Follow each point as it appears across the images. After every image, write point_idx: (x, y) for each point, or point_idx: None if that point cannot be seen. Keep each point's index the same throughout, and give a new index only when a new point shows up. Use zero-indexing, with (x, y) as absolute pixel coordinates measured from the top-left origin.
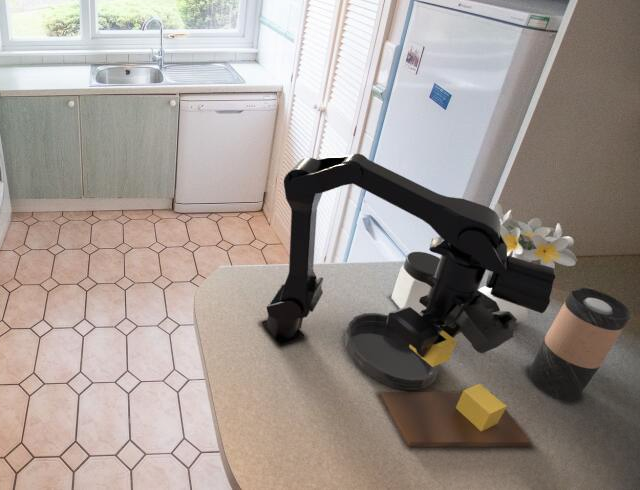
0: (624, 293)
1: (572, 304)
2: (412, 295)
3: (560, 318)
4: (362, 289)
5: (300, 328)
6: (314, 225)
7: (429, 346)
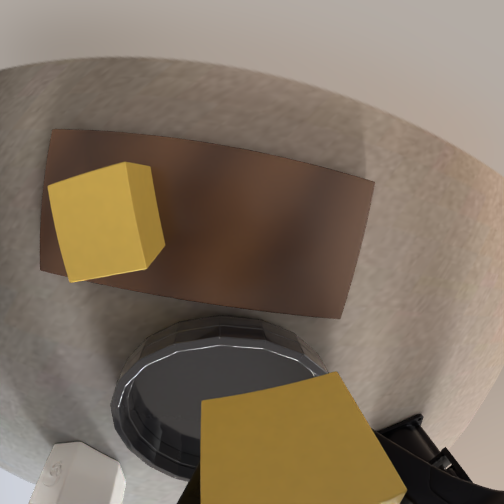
0: None
1: None
2: (104, 497)
3: None
4: (172, 499)
5: None
6: None
7: (433, 479)
